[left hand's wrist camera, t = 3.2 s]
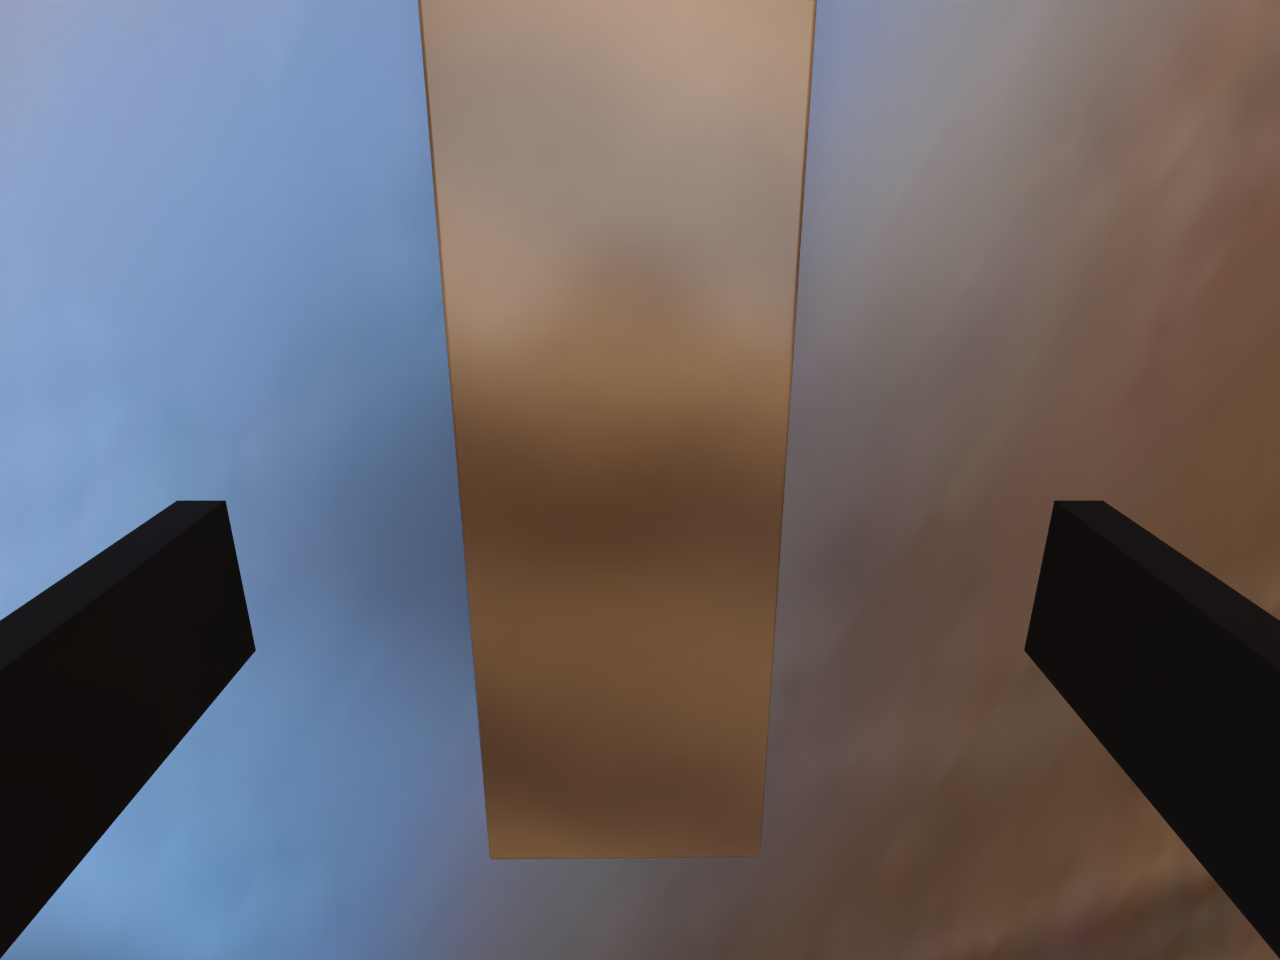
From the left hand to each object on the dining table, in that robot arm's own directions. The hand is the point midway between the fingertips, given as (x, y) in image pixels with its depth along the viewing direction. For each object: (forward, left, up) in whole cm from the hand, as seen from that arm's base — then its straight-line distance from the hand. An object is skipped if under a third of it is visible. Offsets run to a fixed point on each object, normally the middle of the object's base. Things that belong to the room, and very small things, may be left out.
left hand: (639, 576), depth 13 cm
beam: (-3, +25, -9) cm, 27 cm away
